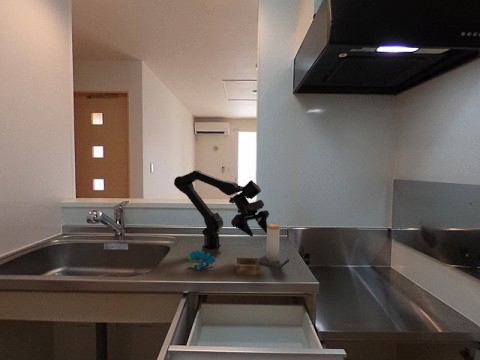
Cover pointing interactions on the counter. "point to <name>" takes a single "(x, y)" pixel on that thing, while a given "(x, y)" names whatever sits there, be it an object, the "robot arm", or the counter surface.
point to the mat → (275, 264)
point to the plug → (273, 242)
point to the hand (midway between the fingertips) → (260, 234)
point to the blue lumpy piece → (200, 258)
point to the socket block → (247, 266)
